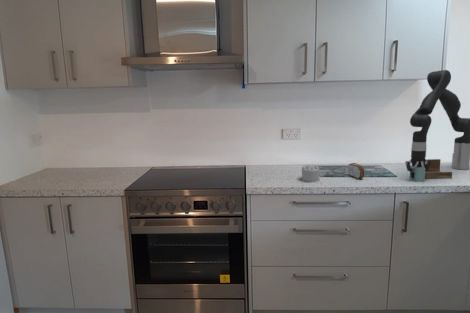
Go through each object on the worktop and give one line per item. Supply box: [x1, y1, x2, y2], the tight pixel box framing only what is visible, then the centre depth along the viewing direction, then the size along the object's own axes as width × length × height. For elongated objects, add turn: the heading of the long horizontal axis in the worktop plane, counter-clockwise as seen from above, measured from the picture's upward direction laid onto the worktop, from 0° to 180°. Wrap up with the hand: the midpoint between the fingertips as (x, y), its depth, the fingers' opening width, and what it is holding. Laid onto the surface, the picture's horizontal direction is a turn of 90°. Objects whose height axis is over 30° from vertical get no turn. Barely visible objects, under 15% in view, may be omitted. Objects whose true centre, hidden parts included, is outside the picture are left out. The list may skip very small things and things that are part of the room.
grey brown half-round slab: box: [348, 162, 365, 180], centre depth 205 cm, size 15×3×8 cm, turn 9°
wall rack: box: [423, 158, 453, 180], centre depth 202 cm, size 14×15×9 cm
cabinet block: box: [409, 164, 426, 183], centre depth 194 cm, size 8×4×8 cm, turn 0°
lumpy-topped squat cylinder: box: [301, 164, 320, 183], centre depth 203 cm, size 10×13×9 cm
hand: (416, 177), depth 195 cm, fingers closed on cabinet block, 4 cm apart
